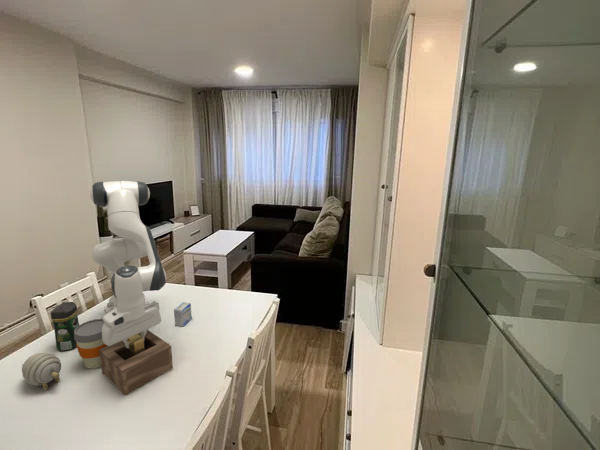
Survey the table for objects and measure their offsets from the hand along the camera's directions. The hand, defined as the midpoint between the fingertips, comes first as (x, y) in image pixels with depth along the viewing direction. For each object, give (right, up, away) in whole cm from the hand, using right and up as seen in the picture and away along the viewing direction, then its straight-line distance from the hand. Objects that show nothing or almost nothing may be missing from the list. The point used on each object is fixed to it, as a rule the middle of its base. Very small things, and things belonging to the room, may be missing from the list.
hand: (135, 343), depth 121 cm
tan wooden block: (0, -2, 0) cm, 2 cm away
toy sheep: (-30, -13, -5) cm, 33 cm away
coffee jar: (-37, -7, +17) cm, 41 cm away
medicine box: (+5, -3, +37) cm, 37 cm away
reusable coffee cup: (-19, -10, +8) cm, 23 cm away
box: (0, -11, +3) cm, 12 cm away
